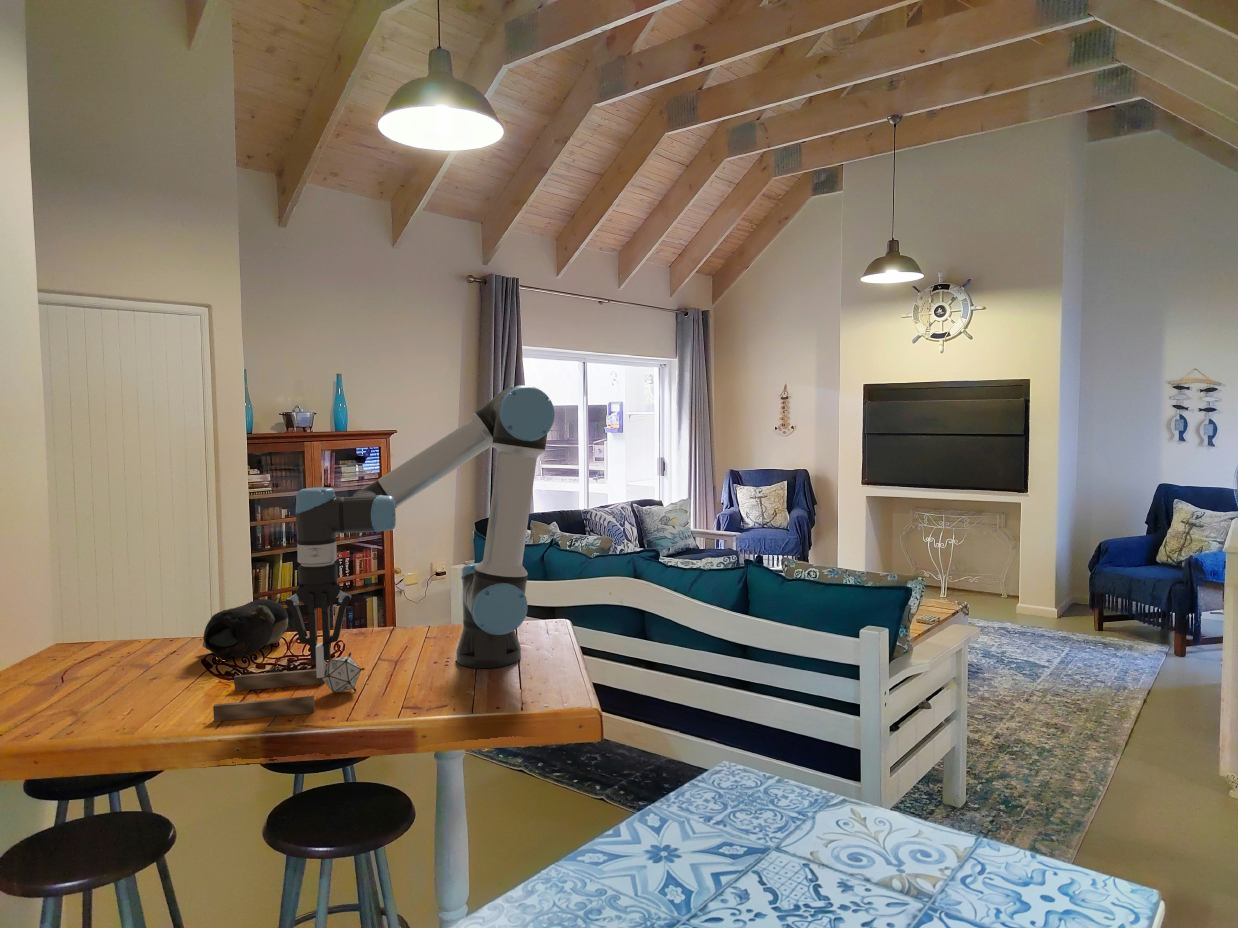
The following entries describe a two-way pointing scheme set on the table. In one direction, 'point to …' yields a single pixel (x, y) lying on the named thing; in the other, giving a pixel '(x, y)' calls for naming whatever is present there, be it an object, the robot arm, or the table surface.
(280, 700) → the walnut channel
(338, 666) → the game die
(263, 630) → the black rounded lump
